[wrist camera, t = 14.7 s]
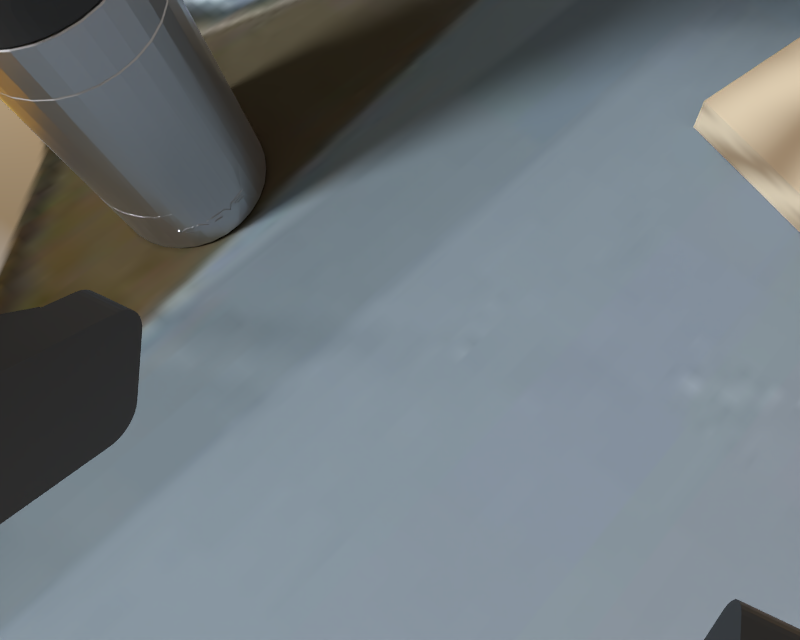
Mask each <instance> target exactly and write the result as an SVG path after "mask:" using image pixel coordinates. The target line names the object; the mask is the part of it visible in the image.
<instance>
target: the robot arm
mask: <svg viewBox="0 0 800 640" xmlns="http://www.w3.org/2000/svg"><path fill="white" fill-rule="evenodd" d="M0 100H1V101H2V102H3V103H4V104H5V105H7V106H8V107H9V108H10V109H11V110H12V111H13V112H14V113H15V114H16V115H17V116H18V117H19V118H20V119H21V120H22V121H23V122H24V123H25V124H26V125H27V126H28V127H29V128H30V129H31V130H32V131H33V132H34V133H35V134H36V135H37V136H38V137H39V138H40V139H41V140H42V141H43V142H44V143H45V144H46V145H47V146H48V147H49V148H50V149H51V150H52V151H53V152H54V153H55V154H56V155H57V156H58V157H60V158H61V159H62V160H63V161H64V162H65V163H66V164H67V165H68V166H69V167H70V168H71V169H72V170H73V171H74V172H75V173H76V174H77V175H78V176H79V177H80V178H81V179H82V180H83V181H84V182H85V183H86V184H87V185H88V186H89V187H90V188H91V189H92V190H93V191H94V192H95V193H96V194H97V195H98V196H99V197H100V198H101V199H102V200H103V201H104V202H105V203H106V204H107V205H108V206H109V207H110V208H111V209H112V210H113V211H114V212H115V213H116V214H117V215H119V216H120V217H121V218H122V219H123V220H124V221H125V222H126V223H127V224H128V225H129V226H130V227H131V228H132V229H133V230H134V231H135V232H136V233H137V234H138V235H140V236H141V237H143V238H145V239H146V240H148V241H149V242H152V243H155V244H158V245H161V246H164V247H173V248H187V247H196V246H199V245H203V244H206V243H209V242H212V241H214V240H216V239H218V238H220V237H222V236H224V235H226V234H228V233H229V232H230V231H232V230H233V229H234V228H235V227H237V226H238V225H239V224H241V222H242V221H243V220H244V219H245V218H246V217H247V216H248V215H249V213H250V212H251V211H252V210H253V208H254V206H255V205H256V203H257V201H258V199H259V198H260V195H261V192H262V189H263V186H264V183H265V175H266V162H265V155H264V152H263V150H262V147H261V145H260V142H259V140H258V138H257V137H256V135H255V133H254V131H253V129H252V127H251V125H250V124H249V122H248V120H247V118H246V116H245V114H244V112H243V111H242V109H241V107H240V105H239V103H238V101H237V99H236V97H235V95H234V93H233V92H232V90H231V88H230V86H229V84H228V82H227V81H226V79H225V77H224V75H223V73H222V71H221V70H220V68H219V66H218V64H217V62H216V60H215V59H214V57H213V55H212V53H211V51H210V49H209V48H208V46H207V44H206V42H205V40H204V38H203V37H202V35H201V33H200V31H199V29H198V27H197V26H196V24H195V22H194V20H193V18H192V16H191V15H190V13H189V11H188V9H187V7H186V5H185V3H184V2H183V0H0ZM141 338H142V322H141V319H140V316H139V315H138V314H137V313H136V312H135V311H133V310H131V309H129V308H127V307H125V306H123V305H120V304H118V303H116V302H114V301H112V300H110V299H108V298H106V297H104V296H102V295H99V294H97V293H95V292H93V291H90V290H81V291H78V292H75V293H73V294H70V295H68V296H66V297H64V298H62V299H59V300H57V301H55V302H53V303H50V304H48V305H46V306H44V307H42V308H40V307H37V308H32V309H26V310H21V311H16V312H10V313H5V314H0V524H1V523H2V522H4V521H5V520H7V519H8V518H9V517H11V516H12V515H14V514H15V513H17V512H18V511H19V510H21V509H22V508H24V507H25V506H26V505H28V504H29V503H31V502H32V501H33V500H35V499H36V498H38V497H39V496H41V495H42V494H43V493H45V492H46V491H48V490H49V489H50V488H52V487H53V486H55V485H56V484H57V483H59V482H60V481H62V480H63V479H64V478H66V477H67V476H69V475H70V474H72V473H73V472H74V471H76V470H77V469H79V468H80V467H81V466H83V465H84V464H86V463H87V462H88V461H90V460H91V459H93V458H94V457H96V456H97V455H98V454H100V453H101V452H103V451H104V450H105V449H107V448H108V447H110V446H111V445H112V444H113V443H115V442H116V441H117V440H118V439H119V438H120V437H121V435H122V434H123V433H124V432H125V430H126V429H127V427H128V426H129V424H130V422H131V420H132V418H133V415H134V413H135V409H136V405H137V395H138V380H139V366H140V352H141ZM704 640H800V629H798V628H796V627H794V626H792V625H790V624H788V623H786V622H784V621H781V620H779V619H777V618H775V617H773V616H771V615H769V614H767V613H765V612H762V611H760V610H758V609H756V608H754V607H752V606H750V605H748V604H746V603H744V602H741V601H739V600H737V599H735V600H733V601H731V602H730V603H729V604H728V605H727V606H726V607H725V609H724V610H723V612H722V613H721V615H720V616H719V618H718V619H717V621H716V622H715V624H714V625H713V627H712V628H711V630H710V632H709V633H708V635H707V636H706V638H705V639H704Z"/></svg>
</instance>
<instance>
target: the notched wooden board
mask: <svg viewBox="0 0 800 640" xmlns="http://www.w3.org/2000/svg"><path fill="white" fill-rule="evenodd" d="M694 128H695V129H696V130H697V131H698V132H699V133H700V134H701V135H702V136H703V137H704V138H705V139H706V140H707V141H708V142H709V143H710V144H711V145H712V146H713V147H714V148H715V149H716V150H717V151H718V152H719V153H720V154H721V155H722V156H723V157H724V158H725V159H726V160H727V161H728V162H729V163H730V164H731V165H732V166H733V167H734V168H735V169H736V170H737V171H738V172H739V173H740V174H741V175H742V176H744V177H745V178H746V179H747V180H748V181H749V182H750V183H751V184H752V185H753V186H754V187H755V188H756V189H757V190H758V191H759V192H760V193H761V194H762V195H763V196H764V197H765V198H766V199H767V200H768V201H769V202H770V203H771V204H772V205H773V206H774V207H775V208H776V209H777V210H778V211H779V212H780V213H781V214H782V215H783V216H784V217H785V218H786V219H787V220H788V221H789V222H790V223H791V224H792V225H793V226H794V227H795V228H796V229H797V230H798V231H799V232H800V38H798V39H797V40H795V41H794V42H792V43H791V44H789V45H788V46H786V47H785V48H783V49H782V50H780V51H779V52H777V53H776V54H774V55H773V56H771V57H770V58H768V59H767V60H765V61H764V62H762V63H761V64H759V65H758V66H756V67H755V68H753V69H752V70H750V71H749V72H747V73H746V74H744V75H743V76H741V77H740V78H738V79H737V80H735V81H733V82H732V83H730V84H729V85H727V86H726V87H724V88H723V89H721V90H720V91H718V92H717V93H715V94H714V95H712V96H711V97H709V98H708V99H706V100H705V101H704V103H703V105H702V107H701V110H700V112H699V115H698V117H697V120H696V122H695V125H694Z"/></svg>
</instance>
